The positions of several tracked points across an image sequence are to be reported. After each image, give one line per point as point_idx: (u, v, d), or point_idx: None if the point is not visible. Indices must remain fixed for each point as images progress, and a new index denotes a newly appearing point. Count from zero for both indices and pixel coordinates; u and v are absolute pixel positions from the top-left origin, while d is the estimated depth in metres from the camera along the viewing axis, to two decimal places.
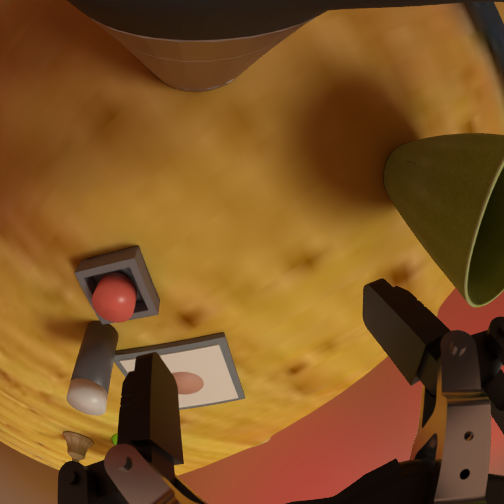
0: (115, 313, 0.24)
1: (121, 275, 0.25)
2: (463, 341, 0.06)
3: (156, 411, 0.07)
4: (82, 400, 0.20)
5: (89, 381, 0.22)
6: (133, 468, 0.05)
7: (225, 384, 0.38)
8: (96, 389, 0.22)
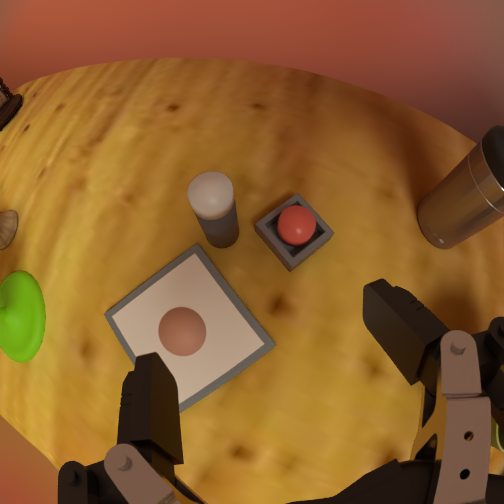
0: (290, 226, 0.32)
1: None
2: (463, 341, 0.06)
3: (156, 411, 0.07)
4: (218, 186, 0.26)
5: None
6: (133, 468, 0.05)
7: (196, 381, 0.30)
8: (231, 204, 0.27)
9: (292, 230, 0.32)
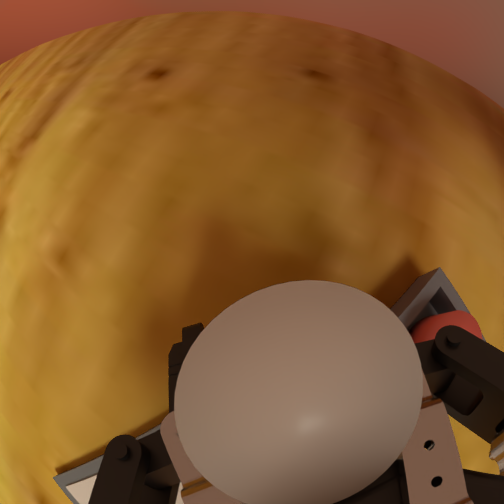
0: None
1: None
2: None
3: None
4: (357, 385, 0.04)
5: None
6: None
7: None
8: None
9: None
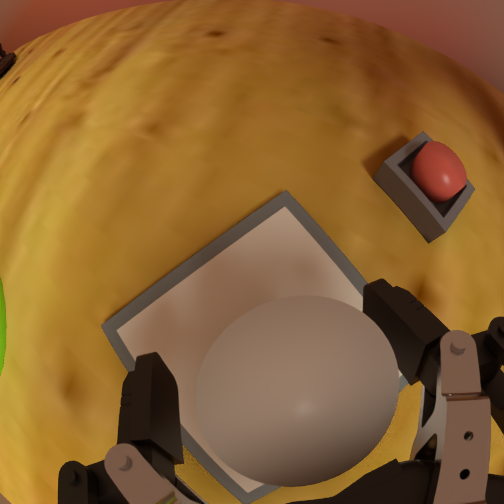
0: (440, 168, 0.16)
1: None
2: (463, 341, 0.06)
3: (156, 411, 0.07)
4: (343, 379, 0.05)
5: None
6: (133, 468, 0.05)
7: None
8: None
9: (444, 174, 0.16)
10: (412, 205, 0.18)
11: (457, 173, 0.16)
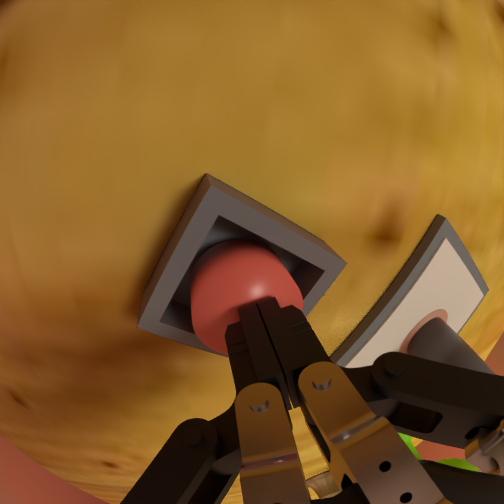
0: None
1: (219, 246, 0.11)
2: (324, 374, 0.06)
3: None
4: None
5: None
6: (276, 404, 0.06)
7: (469, 290, 0.19)
8: None
9: None
10: None
11: (258, 291, 0.10)
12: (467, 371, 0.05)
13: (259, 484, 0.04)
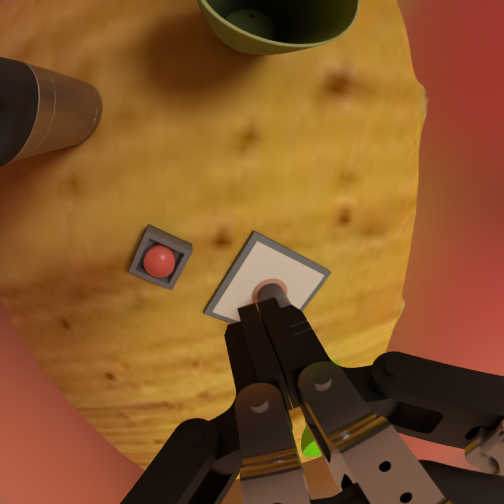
0: (165, 267, 0.37)
1: (152, 244, 0.37)
2: (324, 374, 0.06)
3: None
4: None
5: None
6: (276, 404, 0.06)
7: (300, 270, 0.44)
8: None
9: (167, 264, 0.37)
10: None
11: (159, 256, 0.36)
12: (467, 371, 0.05)
13: (259, 484, 0.04)
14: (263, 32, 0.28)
